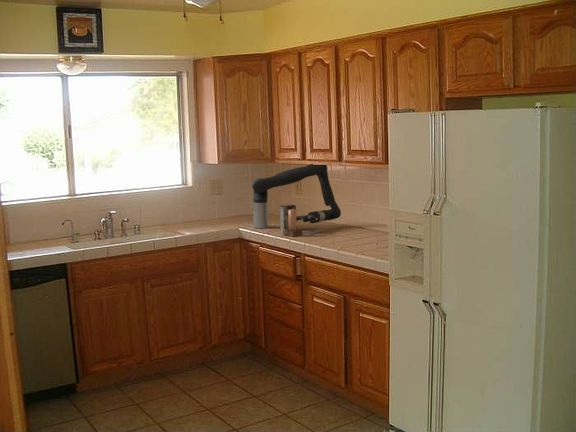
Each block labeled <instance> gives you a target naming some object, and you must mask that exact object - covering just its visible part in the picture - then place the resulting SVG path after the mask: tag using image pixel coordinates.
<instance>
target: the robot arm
mask: <svg viewBox="0 0 576 432" xmlns="http://www.w3.org/2000/svg"><path fill="white" fill-rule="evenodd" d="M328 173H329V171H328V165H327V164H326V165H313V163H310V164H307V165H305V166H304V165H303V166H300V167H296V168H295V167H294V168H291V169H287V170H284V171H282V172H278V173H277V174H275V175H273V176H269V177H264V178H262V177H259V178H256V179H254V181H253V183H252V190H253V214H252V217H253V219H252V220H253V221H252V222H253V228H255V229H268V228H269V212H268V209H269V208H268V190H270V189H273V188H278V187H282V186H288V185H291V184H295V183H297V182H301V181H302V180H304V179H306V178H309V177H313V176H316V177H317V180H318V181H319V184H320V190H321V195H322V198H323V202H324V205H325V206H326V207H330V209H323V210H314V211H310V212H308V213H307V214H305V215H304V214H301V215H296V218H297V222H299V221H301V222H303V223H308V222H309V223H310V224H318V223H321V222H325V221H333V220H336V219H338V218H340V217H341V216H342V211H341V209H340V207H339V205H338V203H337V202H336V198H335V195H334V193H333V189H332V187H331V184H330V180H329V175H328Z"/></svg>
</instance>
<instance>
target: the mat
mask: <svg viewBox="0 0 576 432" xmlns="http://www.w3.org/2000/svg"><path fill="white" fill-rule="evenodd" d="M302 233H303V234H304V235H315V234H320V233H321V231H319V230H318V231H316V230H307V231H302Z"/></svg>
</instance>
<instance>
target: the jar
mask: <svg viewBox="0 0 576 432" xmlns="http://www.w3.org/2000/svg"><path fill="white" fill-rule="evenodd" d="M296 216H297V209H296V210H295V209H291V210H288V220H289V231H291V232H294V231H297V230H298V229H297V228H298V224H297V223H298V221H297V218H296Z"/></svg>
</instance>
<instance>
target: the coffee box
mask: <svg viewBox="0 0 576 432" xmlns="http://www.w3.org/2000/svg"><path fill="white" fill-rule="evenodd" d="M296 208H297V206H296V205H294V204H286V205H279V218H280V219H279V220H280V230H281V231H285V230H289V220H288V210H291V209H295V210H296V211H297V209H296Z"/></svg>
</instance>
